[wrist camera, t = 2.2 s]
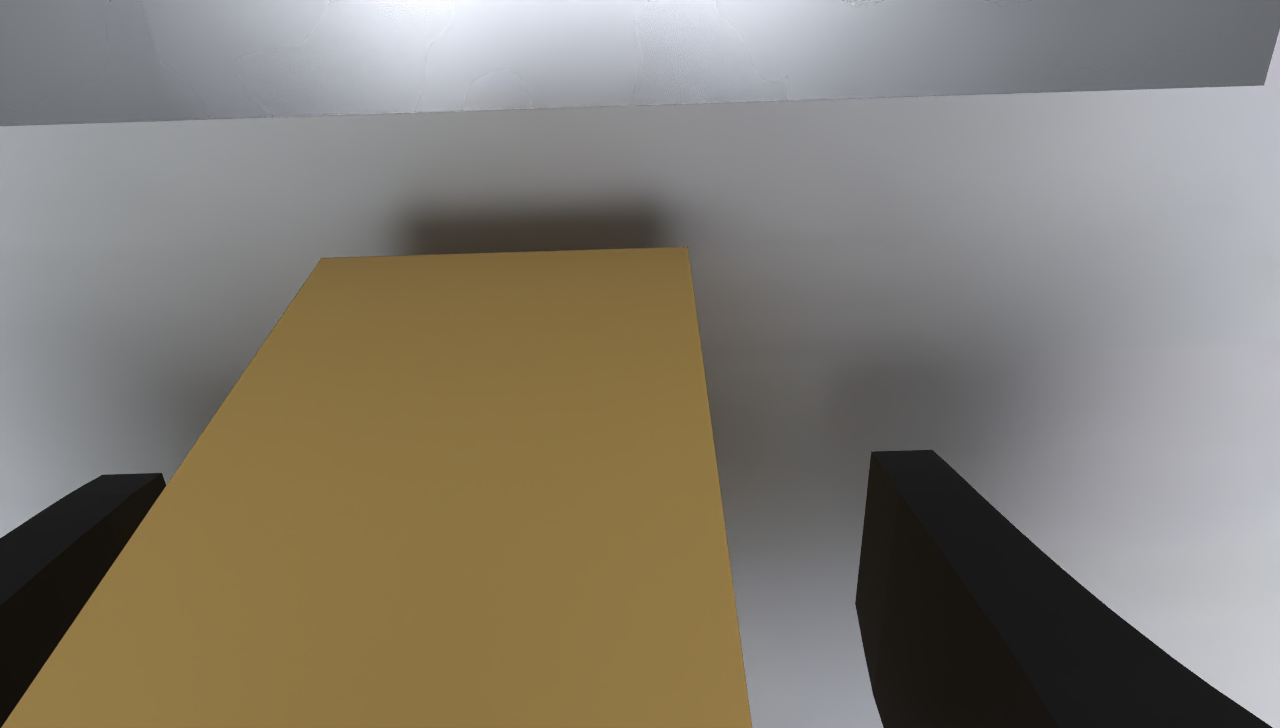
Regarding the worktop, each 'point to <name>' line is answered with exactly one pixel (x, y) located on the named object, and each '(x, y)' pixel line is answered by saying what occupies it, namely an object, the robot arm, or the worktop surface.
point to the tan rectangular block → (434, 517)
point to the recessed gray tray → (595, 53)
